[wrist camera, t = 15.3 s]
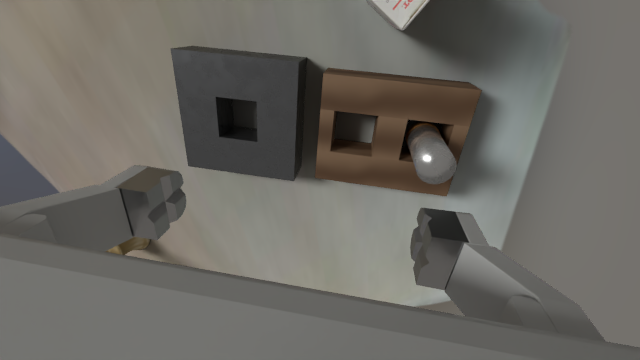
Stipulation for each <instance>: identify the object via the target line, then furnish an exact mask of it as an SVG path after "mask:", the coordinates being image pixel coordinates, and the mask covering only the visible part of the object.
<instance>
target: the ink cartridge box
mask: <svg viewBox="0 0 640 360" xmlns="http://www.w3.org/2000/svg"><path fill="white" fill-rule="evenodd" d="M366 1H367V3H368V4H369V5H370V6H371V7H372V8H373V9H375V10H376V11H377V12H378V13H379V14H380V15H381V16H382V17H383V18H384V19H385V20H386V21H387V22H388V23H390V24H391V25H392V26H393V27H394V28H396V29H400V30H405V29H406V28H407V27H408V25H409V24H410V23H411V22H412V21H413V20H414V18H415V17H416V16H417V15H418V14H419V13H420V11H421V10H422V9H423V8H424V7H425V6H426V4H427V3H428V2H429V1H430V0H366Z"/></svg>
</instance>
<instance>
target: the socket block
mask: <svg viewBox="0 0 640 360" xmlns="http://www.w3.org/2000/svg"><path fill="white" fill-rule="evenodd" d="M171 54H172V60H173V67H174V74H175V80H176V87H177V94H178V100H179V107H180V114H181V120H182V127H183V134H184V141H185V147H186V154H187V161H188V166H192V167H199V168H206V169H213V170H220V171H227V172H234V173H241V174H248V175H255V176H262V177H269V178H276V179H283V180H290V181H294V180H295V178H296V176H297V174H298V172H299V170H300V167H301V158H302V139H303V120H304V101H305V81H306V62H307V57H297V56H287V55H277V54H267V53H257V52H248V51H238V50H228V49H218V48H208V47H198V46H187V47H179V48H172V49H171ZM232 99H239V100H247V101H256V102H257V129H253V128H246V127H238V126H234V122H233V107H232Z"/></svg>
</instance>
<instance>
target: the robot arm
mask: <svg viewBox="0 0 640 360" xmlns="http://www.w3.org/2000/svg"><path fill="white" fill-rule="evenodd" d="M182 185H183V178H182V175H181V174H180V173H179V172H178V171H172V170H166V169H160V168H154V167H149V166H141V165H134V166H132V167H130V168H128V169H127V170H125V171H123V172H122V173H120V174H118V175H117V176H115V177H113V178H111V179H110V180H108V181H106V182H105V183H103V184H101V185H92V186H88V187H84V188H79V189H75V190H71V191H66V192H62V193H58V194H54V195H49V196H45V197H41V198H37V199H32V200H28V201H24V202H19V203H15V204H11V205H7V206H2V207H0V360H640V348H639V347H634V346H628V345H623V344H617V343H611V342H606V341H605V340H604V338H603V337H602V336H601V334H600V333H599V332H598V330H597V329H596V327H595V326H594V325H593V323H592V322H591V321H590V319H589V318H588V317H587V315H586V314H585V313H584V311H583V310H582V308H581V307H580V306H579V305H578V304H577V303H575V302H574V301H572V300H571V299H569V298H568V297H566V296H565V295H563V294H562V293H561V292H559V291H558V290H556V289H555V288H553V287H552V286H550V285H549V284H548V283H546V282H545V281H543V280H542V279H540V278H539V277H537V276H536V275H534V274H533V273H532V272H530V271H528V270H527V269H526V268H524V267H523V266H521V265H520V264H519V263H517V262H516V261H514V260H512V259H511V258H510V257H508V256H507V255H505V254H504V253H503V252H501V251H500V250H498V249H497V248H495V247H491V246H489V244H488V243H487V241H486V239H485V237H484V235H483V233H482V232H481V230H480V228H479V226H478V224H477V222H476V221H475V219H474V217H473V215H471V214H470V213H461V212H453V211H445V210H437V209H429V208H421V209H420V211H419V213H418V216H417V222H418V227H417V228H415V229H414V230H413V234H412V238H411V246H410V250H411V258H412V259H413V260H414V261H415V264H414V267H413V270H414V275H415V281H416V285H421V286H426V287H431V288H436V289H441V290H445V292H446V294H447V295H448V296H449V297H450V298H451V300H452V301H453V302H454V303H455V304H456V305H457V307H458V308H459V309H460V310H461V311H462V313H463V314H464V315H465V316H461V315H455V314H450V313H444V312H438V311H433V310H428V309H422V308H416V307H411V306H405V305H400V304H394V303H388V302H383V301H377V300H372V299H366V298H360V297H355V296H349V295H344V294H338V293H333V292H327V291H321V290H316V289H310V288H305V287H299V286H293V285H288V284H282V283H277V282H271V281H265V280H260V279H254V278H249V277H243V276H238V275H232V274H226V273H221V272H215V271H210V270H204V269H199V268H193V267H187V266H182V265H176V264H171V263H165V262H160V261H154V260H148V259H143V258H137V257H132V256H126V255H121V254H115V253H109V252H105V251H107V250H109V249H111V248H113V247H115V246H117V245H119V244H121V243H123V242H125V241H127V240H129V239H131V238H133V237H139V238H146V239H153V240H158V239H159V238H160V237H161V236H162V235H163V234H164V233H165V232H166V231H167V230H168V229H169V228H170V223H171V222H173V221H176V220H178V219H179V218H180V217H181V216H182V215H183V212H184V210H185V208H186V196H185V193H184V192H183V191H182V190H181V189H180V188H181V186H182Z"/></svg>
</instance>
